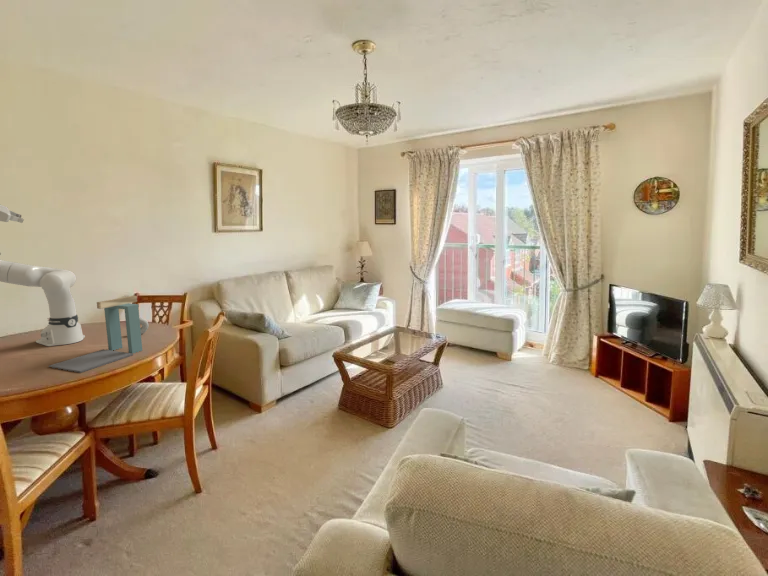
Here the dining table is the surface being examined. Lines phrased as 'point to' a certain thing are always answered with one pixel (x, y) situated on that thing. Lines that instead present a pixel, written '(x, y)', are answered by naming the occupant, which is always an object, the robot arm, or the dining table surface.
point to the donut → (144, 325)
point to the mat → (91, 360)
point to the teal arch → (131, 327)
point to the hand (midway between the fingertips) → (22, 218)
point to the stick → (116, 302)
